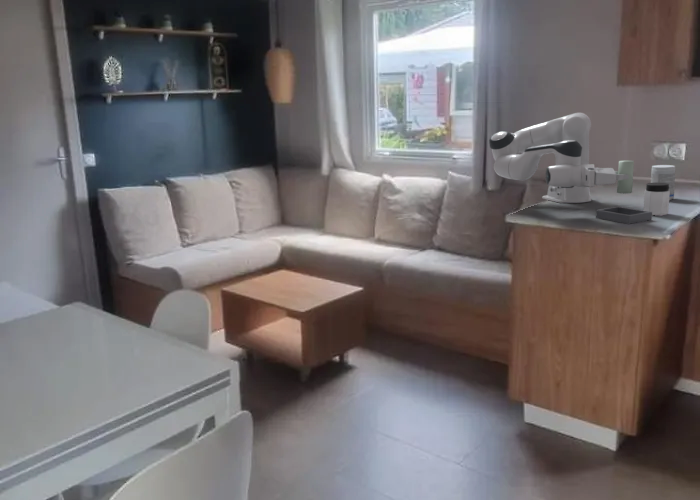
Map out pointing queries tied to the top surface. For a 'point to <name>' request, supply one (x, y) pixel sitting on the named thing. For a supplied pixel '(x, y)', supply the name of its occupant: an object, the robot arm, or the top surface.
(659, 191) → the jar
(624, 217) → the tray
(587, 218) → the top surface
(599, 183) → the robot arm
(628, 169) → the pale green cylinder
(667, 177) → the supplement tub
